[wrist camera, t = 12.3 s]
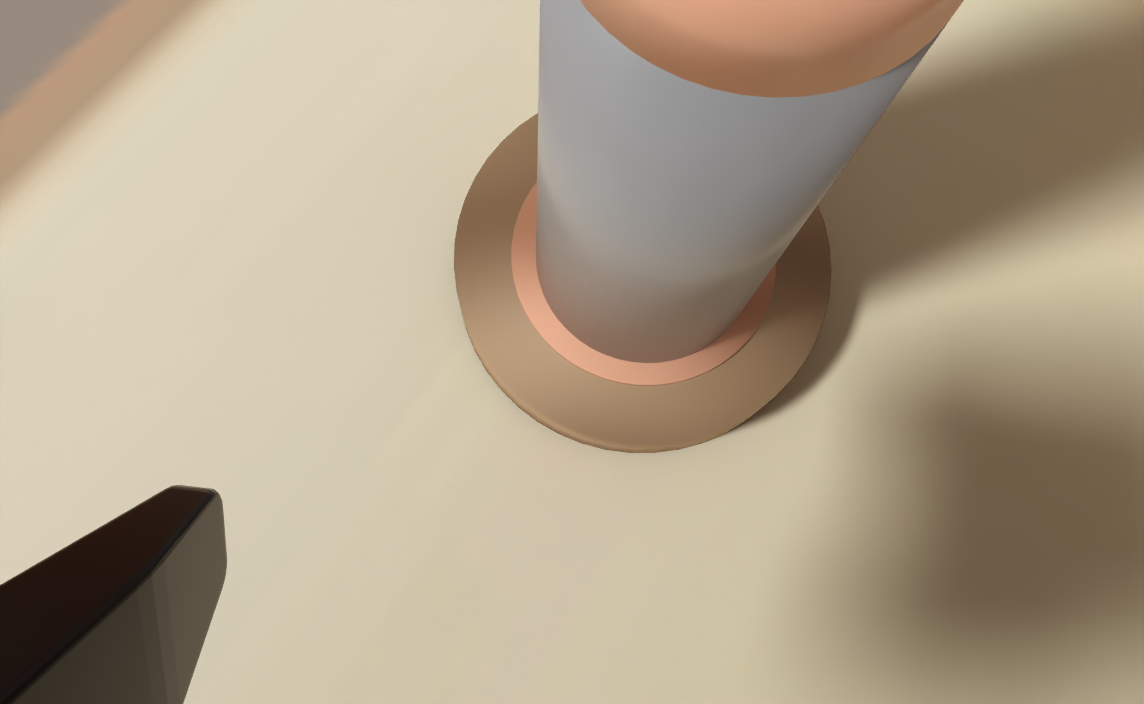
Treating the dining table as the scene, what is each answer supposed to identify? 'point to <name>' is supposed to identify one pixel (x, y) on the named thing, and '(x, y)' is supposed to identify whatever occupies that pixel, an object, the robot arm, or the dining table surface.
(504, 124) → the dining table surface
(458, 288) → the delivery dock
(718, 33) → the cartridge
